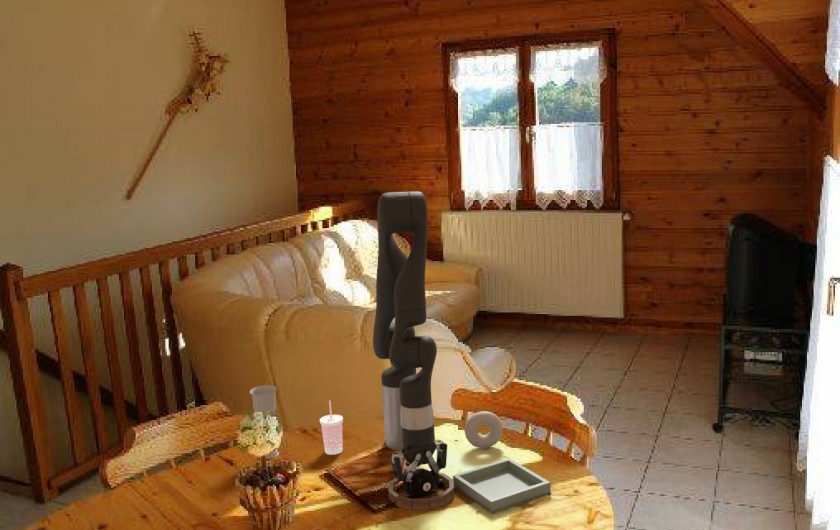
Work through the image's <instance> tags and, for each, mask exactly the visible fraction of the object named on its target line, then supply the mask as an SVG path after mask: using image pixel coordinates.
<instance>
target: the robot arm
mask: <svg viewBox="0 0 840 530" xmlns="http://www.w3.org/2000/svg"><path fill="white" fill-rule="evenodd" d="M428 214H429V212H428V203H427V199H426V196H425V194H424V193H423V192H422V191H391V192H390V191H389V192H384V193H381V195H380V196H379V199H378V202H377V237H378V240H377V241H378V242H377V243H378V250H377V251H378V252H377V265H376V267H377V269H376V279H375V282H376V283H375V284H376V285H375V286H376V287H375V288H376V289H375V294H376V295H375V296H376V298H375V300H376V302H375V305H376V306H375V314H374V315H375V317H374V322H373V323H374V325H373V331H372V346H373V352H374V354H375V357H377V358H378V359H380V360H389V361H390V363H391V365H392V366H390V367H388V368H386V369H384V370H383V371H382V373H381V376H380V377H381V379H380V380H381V394H382V395H381V396H382V404H383V405H382V407H383V408H382V409H383V413H382V414H383V425H384V426H383V427H384V438H385V439H384V440H385V446H386V447H387V448H388V447H389V448H388V449H390V448H392V449H391V450H393V449H394V450H393V451H401V452H399V453H396V454H395V453H391V454H390V457H389V459H390V461H391V462H390V463H391V468H392V473H393V477H394V479H395V478H397V479H398V480H399V481H403V486H402V490H403V493H405V494H406V495H407V496H408V497H413V495H414V494H413V493H412V481H411V477H412V474H413V473H414V472H415V470H416V469H417V467H421V466H423V465H427V466H428V468H429V469H430V470H429V471H430V472H431V474H432V475H433V478H434V488H433V489H438V486H439V484H440V483H439V473H440V471H441V470H442V469H446V467H447V459H448V458H447V457H448V455H447V454H448V444H447V443H446V442H444V441H442V440H438V441H437V442H435V441H436V437H435V436H436V434H435V415H434V408H433V401H432V376H433V370H434V365H435V363H436V359H437V353H438V348H437V347H438V346H437V344H436V342H435V340H434V339H433V337H431V336H429V335H419V336H418V335H416V331H415V327H417V326H420V325H424V324H425V323H426V322H427V302H426V265H427V249H428V248H427V246H428V227H429V226H428V225H429V221H428V220H429V219H428V218H429V215H428ZM406 233H407V234H408V233H412V234H413V237H412V238H413V239H412V246H411V250H410V252H409V254H408V256H407V255H406V254H405V252H404V251H403V250H402V249H401V248H400V247H399V245H398V243H397V242H396V240H395V237H394V235H393V234H406ZM393 321H394V322H393ZM419 368H420V370H419V371H418V372H417V369H419ZM435 451H436V460H435V458H434V453H435ZM403 458H404V462H403ZM402 463H403V468H402Z"/></svg>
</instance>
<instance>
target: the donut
mask: <svg viewBox="0 0 840 530" xmlns="http://www.w3.org/2000/svg"><path fill="white" fill-rule="evenodd" d="M482 425H487V426H488V427H489V432H488V433H486V434H480V433H479V432H478V430H479V427H480V426H482ZM503 431H504V427H503V422H502V420H501V419H500V417H499V416H497V415H496V414H495V413H494V412H490V411H487V410H486V411H485V410H482V411H478V412H475V413H473V414H472V415H471V416H470V417H469V418H468V419H467V421H466V423H465V424H464V435H465V438H466V440H467V441H468V443H469V444H471V445H472V447H476V448H478V449H487V448H491V447H493V446H495V445H496V444H498V442H499V441H500V440H501V438H502V435H503Z"/></svg>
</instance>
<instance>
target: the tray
mask: <svg viewBox="0 0 840 530" xmlns="http://www.w3.org/2000/svg"><path fill="white" fill-rule="evenodd" d="M452 479H453V480H454V489H457V490H458V492H461V493H462V494H464V495H465V496H466V497H467V498H468V499H470V500H472V501H473V502H475V503H476V504H477V505H479V506H480V507H482V508H483V509H484V510H486V511H487V512H489V513H490V514H492V515H493V514H496V513H499V512H502V511H504V510H507V509H511V508H513V507H516V506H520V505H522V504H525V503H529V502H530V501H534V500H537V499H540V498H543V497H545V496H548V495H549V496H550V495H552V493H551V492H552V490H551V487H552V486H551V482H550V481H549V480H547V479H546V478H544V477H542V476H540V475H539V474H537V473H536V472H534V471H532V470H531V469H528V467H527V468H526V467H525V466H524V465H521V464H520V463H519V462H517V461H515V460H513V459H511V458H510V457H509V458H505V459H502V460H499V461H495V462H491V463H489V464H485V465H482V466H479V467H475V468H471V469H469V470H466V471H463V472H459V473H457V474H453V475H452Z"/></svg>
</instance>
